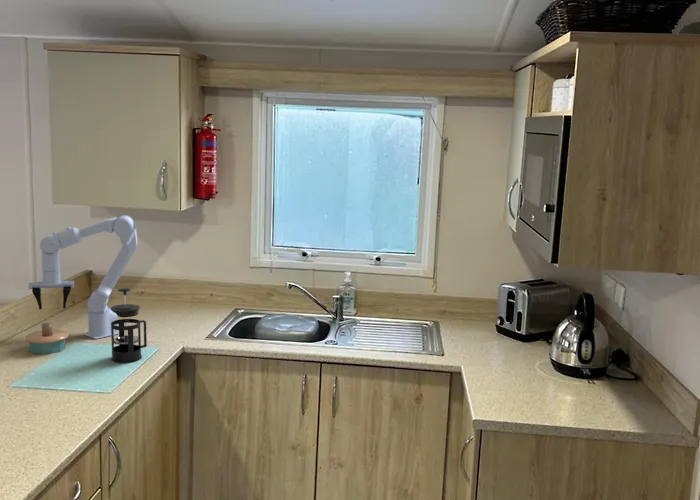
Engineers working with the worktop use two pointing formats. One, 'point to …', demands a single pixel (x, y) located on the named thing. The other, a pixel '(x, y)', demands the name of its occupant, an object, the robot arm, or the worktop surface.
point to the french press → (126, 342)
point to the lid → (47, 335)
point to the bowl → (47, 347)
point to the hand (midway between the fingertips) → (52, 308)
